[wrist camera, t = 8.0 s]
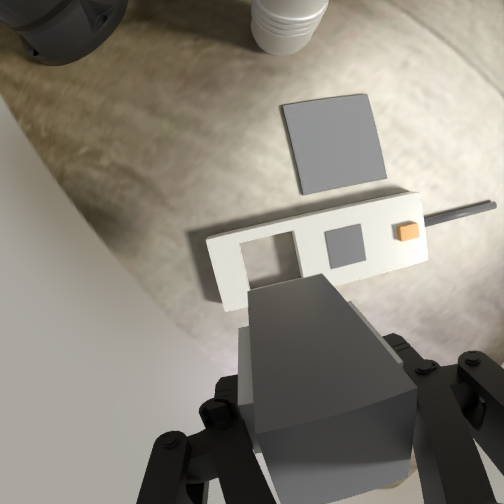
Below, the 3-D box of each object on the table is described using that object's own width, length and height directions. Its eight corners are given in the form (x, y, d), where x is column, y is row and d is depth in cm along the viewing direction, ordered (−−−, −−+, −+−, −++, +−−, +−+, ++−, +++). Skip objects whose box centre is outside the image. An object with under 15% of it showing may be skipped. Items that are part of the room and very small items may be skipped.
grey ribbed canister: (320, 30, 31) (360, -41, 16) (289, 70, 32) (319, 4, 17) (270, 2, 30) (284, -78, 15) (237, 40, 31) (235, -36, 16)
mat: (303, 195, 35) (304, 195, 34) (282, 106, 33) (282, 105, 32) (385, 178, 34) (387, 178, 34) (366, 94, 32) (367, 94, 32)
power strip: (226, 304, 37) (224, 315, 34) (208, 236, 35) (204, 241, 32) (494, 232, 36) (508, 236, 33) (488, 176, 35) (503, 176, 31)
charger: (263, 356, 20) (284, 513, 9) (247, 291, 19) (255, 433, 8) (332, 339, 20) (407, 477, 9) (322, 273, 19) (417, 387, 8)
